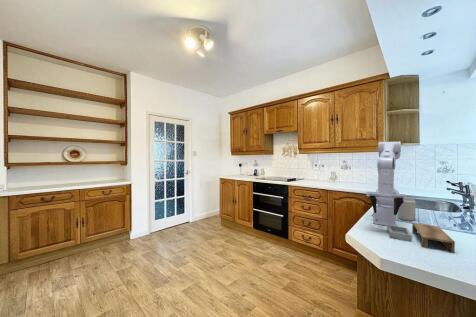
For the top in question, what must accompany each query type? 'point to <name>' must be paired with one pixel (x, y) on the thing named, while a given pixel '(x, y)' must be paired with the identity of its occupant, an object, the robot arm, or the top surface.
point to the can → (407, 209)
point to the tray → (399, 233)
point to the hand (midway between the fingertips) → (384, 213)
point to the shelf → (433, 235)
